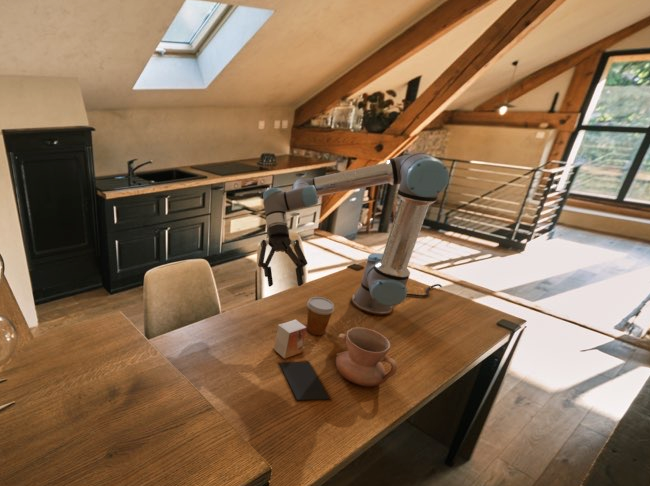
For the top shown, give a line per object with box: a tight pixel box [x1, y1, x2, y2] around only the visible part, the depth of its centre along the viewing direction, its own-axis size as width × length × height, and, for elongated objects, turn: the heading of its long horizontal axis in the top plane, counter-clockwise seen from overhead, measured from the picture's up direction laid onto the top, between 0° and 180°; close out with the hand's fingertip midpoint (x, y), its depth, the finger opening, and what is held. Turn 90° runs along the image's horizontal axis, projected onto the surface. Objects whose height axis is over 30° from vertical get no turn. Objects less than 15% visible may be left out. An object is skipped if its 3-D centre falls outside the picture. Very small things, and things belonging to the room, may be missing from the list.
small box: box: [273, 319, 307, 359], centre depth 130 cm, size 8×6×10 cm
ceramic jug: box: [335, 326, 398, 387], centre depth 119 cm, size 18×14×14 cm
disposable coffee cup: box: [306, 296, 335, 336], centre depth 141 cm, size 10×10×12 cm
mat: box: [278, 361, 331, 401], centre depth 119 cm, size 16×10×1 cm, turn 4°
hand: (285, 285), depth 134 cm, fingers open, 10 cm apart
